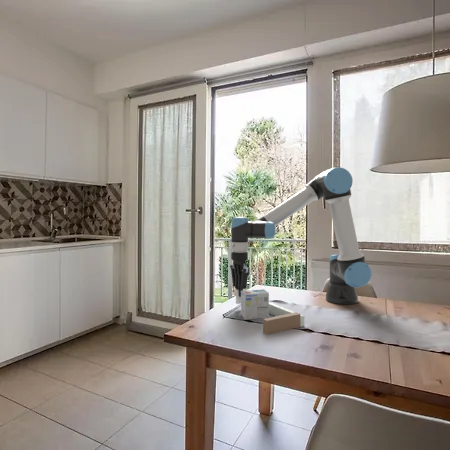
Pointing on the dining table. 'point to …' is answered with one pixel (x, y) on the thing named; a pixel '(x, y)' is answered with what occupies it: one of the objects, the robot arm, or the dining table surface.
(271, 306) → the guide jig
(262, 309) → the light bulb box
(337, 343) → the dining table surface
